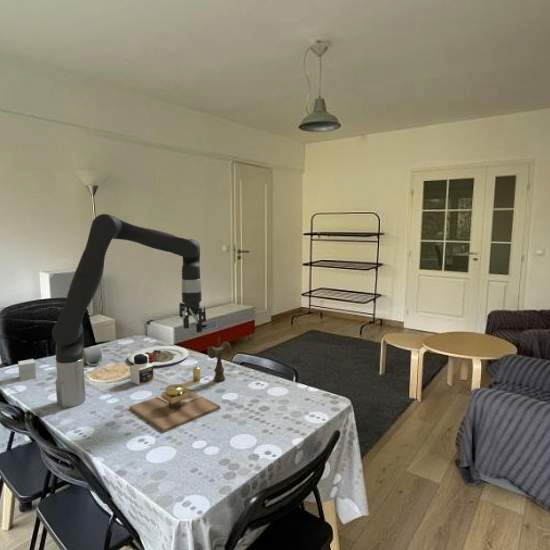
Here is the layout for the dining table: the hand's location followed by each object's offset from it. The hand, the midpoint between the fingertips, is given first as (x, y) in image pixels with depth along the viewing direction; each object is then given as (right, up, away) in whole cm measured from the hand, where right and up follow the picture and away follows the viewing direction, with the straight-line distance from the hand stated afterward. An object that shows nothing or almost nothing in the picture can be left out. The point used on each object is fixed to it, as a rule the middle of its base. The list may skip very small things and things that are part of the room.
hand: (192, 330), depth 157 cm
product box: (-78, -24, +20) cm, 84 cm away
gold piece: (-2, -24, -6) cm, 25 cm away
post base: (-5, -28, -9) cm, 30 cm away
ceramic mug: (-57, -22, +38) cm, 72 cm away
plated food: (-27, -21, +47) cm, 58 cm away
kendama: (+8, -25, +19) cm, 32 cm away
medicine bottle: (-26, -25, +17) cm, 40 cm away
